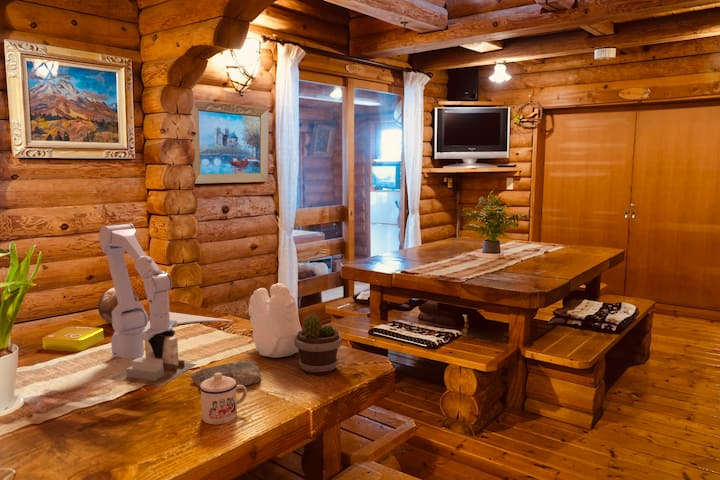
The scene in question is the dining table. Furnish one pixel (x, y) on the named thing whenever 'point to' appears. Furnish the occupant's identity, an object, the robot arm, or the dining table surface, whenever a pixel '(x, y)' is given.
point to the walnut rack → (169, 374)
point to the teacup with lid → (220, 399)
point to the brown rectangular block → (165, 350)
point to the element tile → (73, 338)
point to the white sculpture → (274, 321)
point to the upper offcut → (147, 364)
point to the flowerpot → (317, 346)
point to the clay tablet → (231, 373)
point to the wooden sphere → (110, 304)
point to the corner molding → (187, 319)
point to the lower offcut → (144, 374)
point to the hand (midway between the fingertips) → (161, 355)
